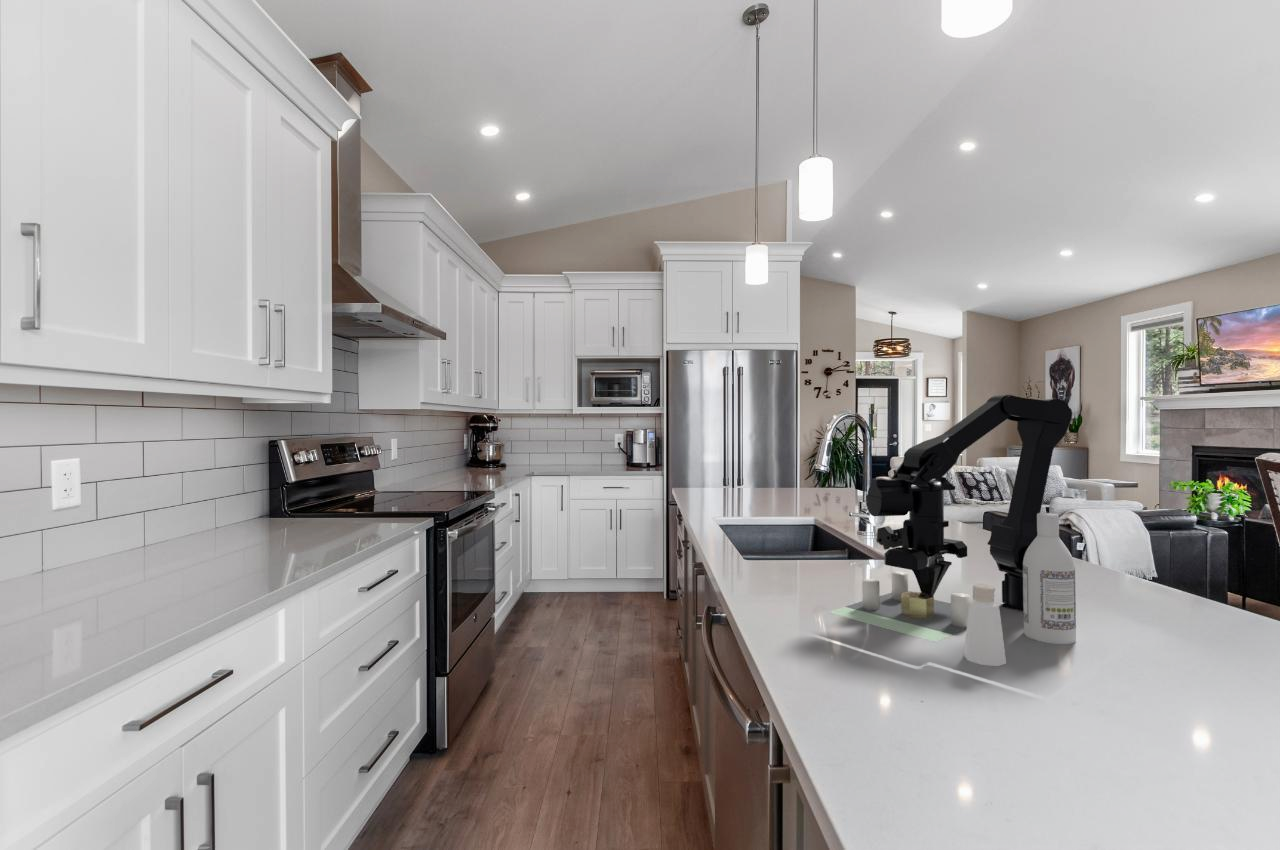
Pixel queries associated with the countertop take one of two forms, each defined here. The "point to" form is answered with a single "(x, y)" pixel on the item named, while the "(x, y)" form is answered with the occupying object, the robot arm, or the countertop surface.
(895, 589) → the cylinder
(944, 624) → the mat
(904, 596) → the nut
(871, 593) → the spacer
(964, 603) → the cylinder
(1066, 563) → the bath foam
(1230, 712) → the countertop surface
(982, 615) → the pepper shaker
